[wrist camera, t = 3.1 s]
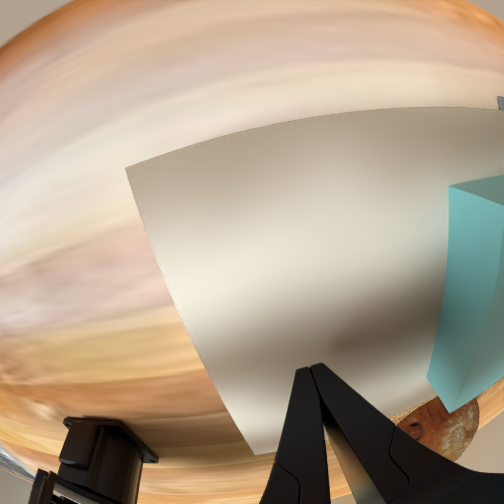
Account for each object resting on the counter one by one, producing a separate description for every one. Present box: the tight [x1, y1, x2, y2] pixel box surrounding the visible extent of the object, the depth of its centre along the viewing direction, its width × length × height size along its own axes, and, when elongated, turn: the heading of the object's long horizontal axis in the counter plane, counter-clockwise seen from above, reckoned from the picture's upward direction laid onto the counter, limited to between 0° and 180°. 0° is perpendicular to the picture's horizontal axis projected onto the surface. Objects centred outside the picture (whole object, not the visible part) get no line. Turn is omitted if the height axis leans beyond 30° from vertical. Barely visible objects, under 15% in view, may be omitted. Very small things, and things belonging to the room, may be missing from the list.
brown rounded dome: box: [397, 396, 479, 462], centre depth 18 cm, size 10×10×8 cm
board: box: [125, 107, 504, 455], centre depth 11 cm, size 14×18×4 cm
